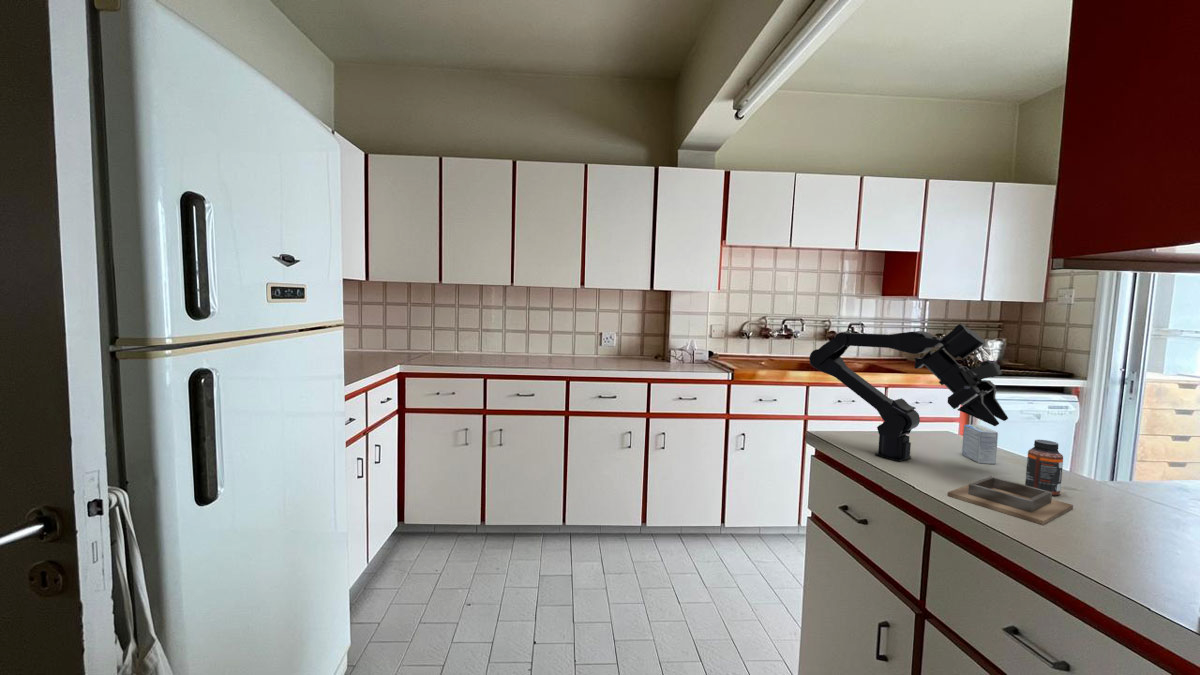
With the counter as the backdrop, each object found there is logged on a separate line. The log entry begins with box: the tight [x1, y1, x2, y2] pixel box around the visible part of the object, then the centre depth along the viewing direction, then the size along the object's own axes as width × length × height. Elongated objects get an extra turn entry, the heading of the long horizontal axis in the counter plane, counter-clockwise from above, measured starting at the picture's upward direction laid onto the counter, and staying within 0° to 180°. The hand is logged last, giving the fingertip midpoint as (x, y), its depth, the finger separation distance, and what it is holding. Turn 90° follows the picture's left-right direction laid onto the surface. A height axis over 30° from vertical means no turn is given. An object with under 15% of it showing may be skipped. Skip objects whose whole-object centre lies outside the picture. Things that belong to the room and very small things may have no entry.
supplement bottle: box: [1024, 439, 1064, 496], centre depth 111 cm, size 6×6×11 cm
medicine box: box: [961, 424, 999, 465], centre depth 134 cm, size 8×4×9 cm, turn 170°
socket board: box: [947, 475, 1074, 526], centre depth 104 cm, size 16×16×3 cm
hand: (1002, 422), depth 116 cm, fingers open, 9 cm apart
